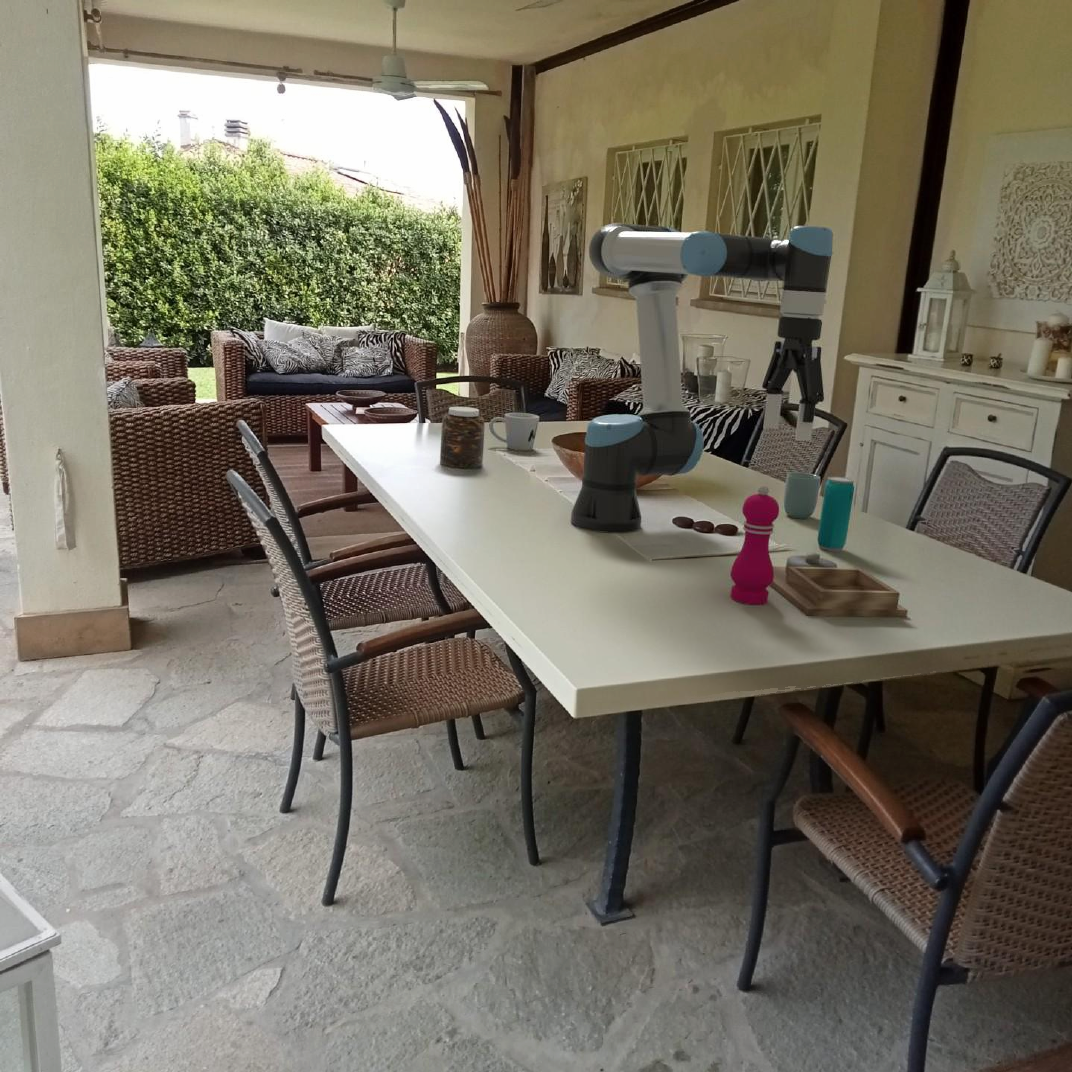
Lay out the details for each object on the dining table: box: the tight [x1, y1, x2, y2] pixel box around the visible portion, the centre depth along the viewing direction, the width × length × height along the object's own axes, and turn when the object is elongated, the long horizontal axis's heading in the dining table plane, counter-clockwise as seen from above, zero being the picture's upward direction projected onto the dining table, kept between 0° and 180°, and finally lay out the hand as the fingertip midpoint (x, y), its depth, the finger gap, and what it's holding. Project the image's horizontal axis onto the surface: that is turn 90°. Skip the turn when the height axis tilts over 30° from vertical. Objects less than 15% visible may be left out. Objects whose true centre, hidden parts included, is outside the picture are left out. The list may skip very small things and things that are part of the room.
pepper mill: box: [730, 484, 780, 606], centre depth 169 cm, size 7×7×20 cm
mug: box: [488, 412, 540, 451], centre depth 298 cm, size 10×15×10 cm
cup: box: [783, 471, 821, 520], centre depth 235 cm, size 8×8×10 cm
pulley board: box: [769, 552, 908, 618], centre depth 177 cm, size 18×24×5 cm
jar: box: [439, 406, 485, 469], centre depth 267 cm, size 12×12×15 cm
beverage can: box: [816, 475, 855, 553], centre depth 207 cm, size 6×6×15 cm
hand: (786, 434), depth 183 cm, fingers open, 13 cm apart
